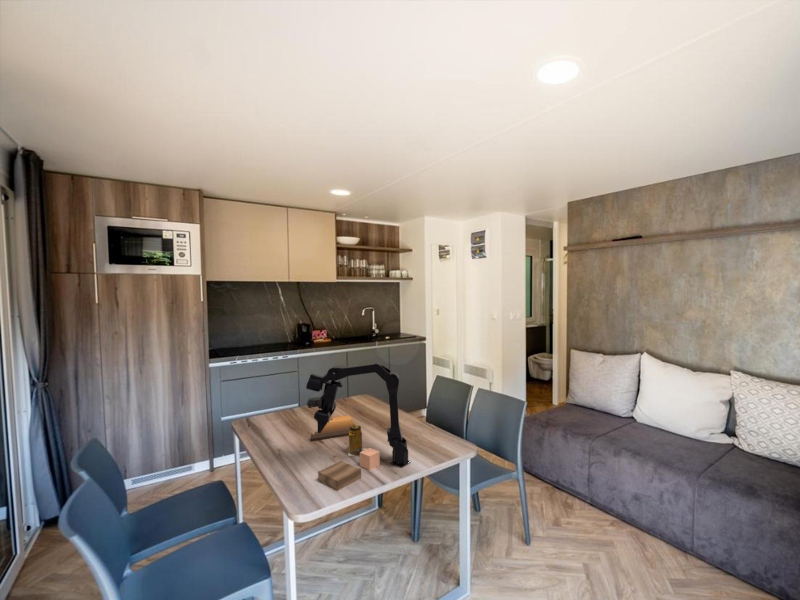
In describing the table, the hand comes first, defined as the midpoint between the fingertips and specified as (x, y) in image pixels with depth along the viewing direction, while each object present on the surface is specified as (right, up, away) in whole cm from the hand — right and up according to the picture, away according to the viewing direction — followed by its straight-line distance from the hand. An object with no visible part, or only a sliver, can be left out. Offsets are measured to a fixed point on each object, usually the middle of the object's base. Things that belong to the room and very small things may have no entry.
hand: (321, 429), depth 160 cm
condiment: (+14, -15, +12) cm, 24 cm away
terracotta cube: (+21, -15, -2) cm, 26 cm away
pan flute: (-3, -16, +41) cm, 44 cm away
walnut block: (+10, -16, -13) cm, 23 cm away
